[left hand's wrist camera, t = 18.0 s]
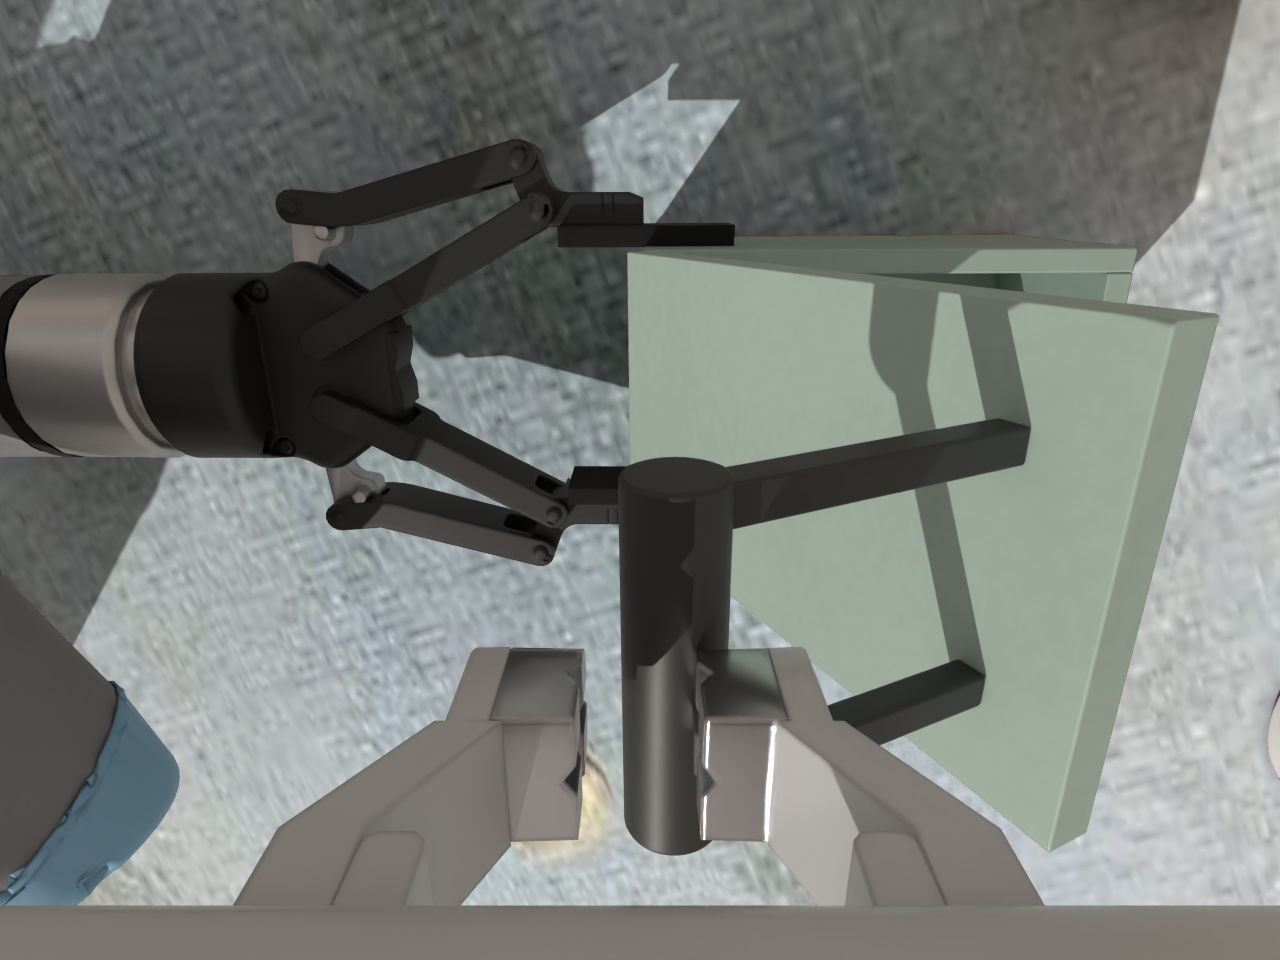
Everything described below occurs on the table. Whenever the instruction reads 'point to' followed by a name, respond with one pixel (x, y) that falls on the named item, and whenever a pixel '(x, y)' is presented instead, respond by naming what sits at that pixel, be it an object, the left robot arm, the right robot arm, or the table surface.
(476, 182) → the right robot arm
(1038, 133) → the table surface
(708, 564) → the lid
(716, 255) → the chest
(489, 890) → the table surface
